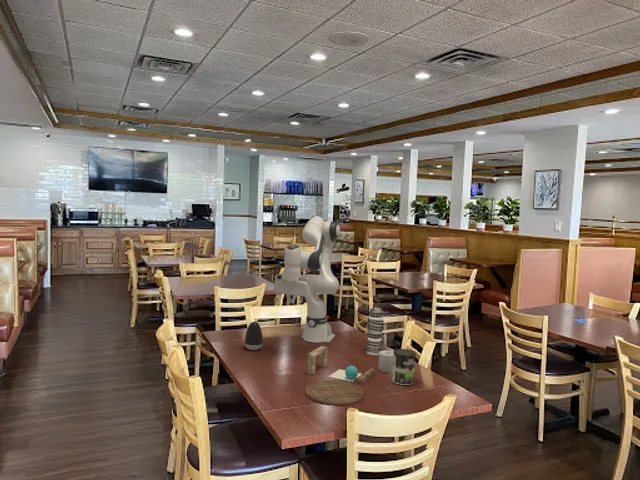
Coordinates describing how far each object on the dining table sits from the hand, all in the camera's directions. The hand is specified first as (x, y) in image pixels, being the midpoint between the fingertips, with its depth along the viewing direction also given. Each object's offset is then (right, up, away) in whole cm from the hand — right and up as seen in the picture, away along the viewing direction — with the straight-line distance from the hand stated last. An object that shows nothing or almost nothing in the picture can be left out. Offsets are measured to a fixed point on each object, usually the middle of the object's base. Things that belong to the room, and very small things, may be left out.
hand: (291, 303), depth 249 cm
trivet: (+21, -34, -45) cm, 60 cm away
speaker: (-22, -27, +14) cm, 38 cm away
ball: (+30, -29, -26) cm, 49 cm away
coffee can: (+53, -33, -27) cm, 68 cm away
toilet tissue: (+50, -32, -13) cm, 60 cm away
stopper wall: (+36, -32, -26) cm, 55 cm away
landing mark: (+27, -32, -22) cm, 47 cm away
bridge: (+14, -31, -15) cm, 37 cm away
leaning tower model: (+45, -30, +16) cm, 56 cm away
